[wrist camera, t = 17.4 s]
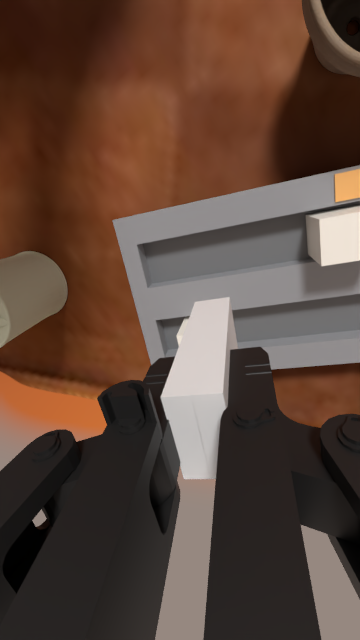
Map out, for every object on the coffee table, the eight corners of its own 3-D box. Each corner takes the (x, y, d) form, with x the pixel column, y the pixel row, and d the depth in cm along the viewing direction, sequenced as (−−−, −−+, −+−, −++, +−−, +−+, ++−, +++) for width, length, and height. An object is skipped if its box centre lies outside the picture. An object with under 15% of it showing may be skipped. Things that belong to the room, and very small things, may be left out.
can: (68, 321, 44) (10, 363, 33) (9, 308, 45) (-66, 345, 34) (68, 257, 40) (2, 281, 29) (3, 245, 41) (-83, 263, 30)
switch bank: (125, 217, 37) (111, 220, 33) (413, 153, 29) (438, 147, 25) (162, 363, 43) (154, 379, 39) (404, 340, 36) (423, 358, 32)
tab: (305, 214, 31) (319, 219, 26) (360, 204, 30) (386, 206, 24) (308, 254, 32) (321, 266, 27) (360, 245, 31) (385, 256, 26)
